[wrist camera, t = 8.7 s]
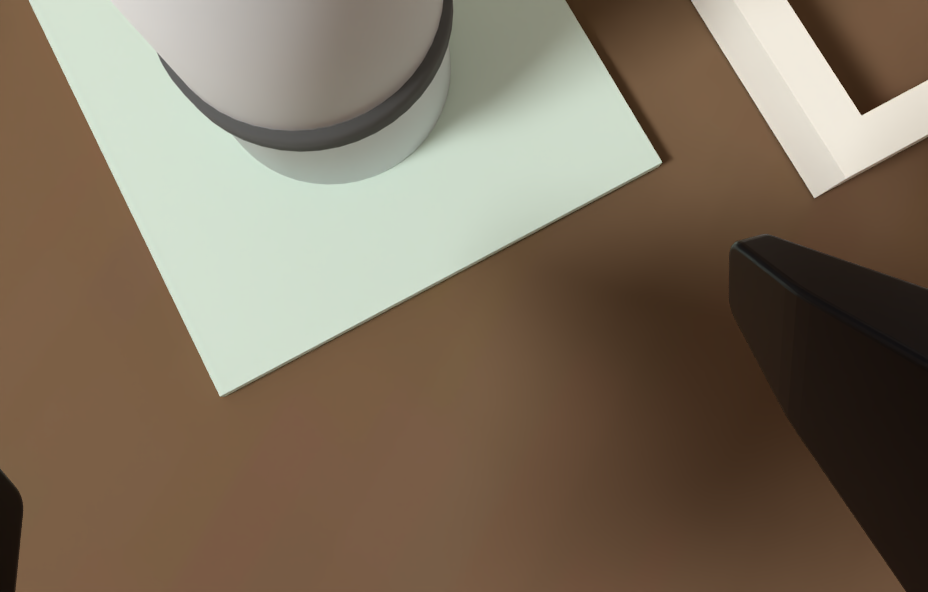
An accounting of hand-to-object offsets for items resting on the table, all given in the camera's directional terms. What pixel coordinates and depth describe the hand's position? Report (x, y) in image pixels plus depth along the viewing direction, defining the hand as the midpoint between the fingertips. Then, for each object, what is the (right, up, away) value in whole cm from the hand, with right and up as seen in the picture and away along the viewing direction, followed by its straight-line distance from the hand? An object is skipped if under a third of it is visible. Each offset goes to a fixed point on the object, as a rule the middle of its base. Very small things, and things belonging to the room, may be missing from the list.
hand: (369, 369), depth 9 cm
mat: (-2, +6, +9) cm, 11 cm away
